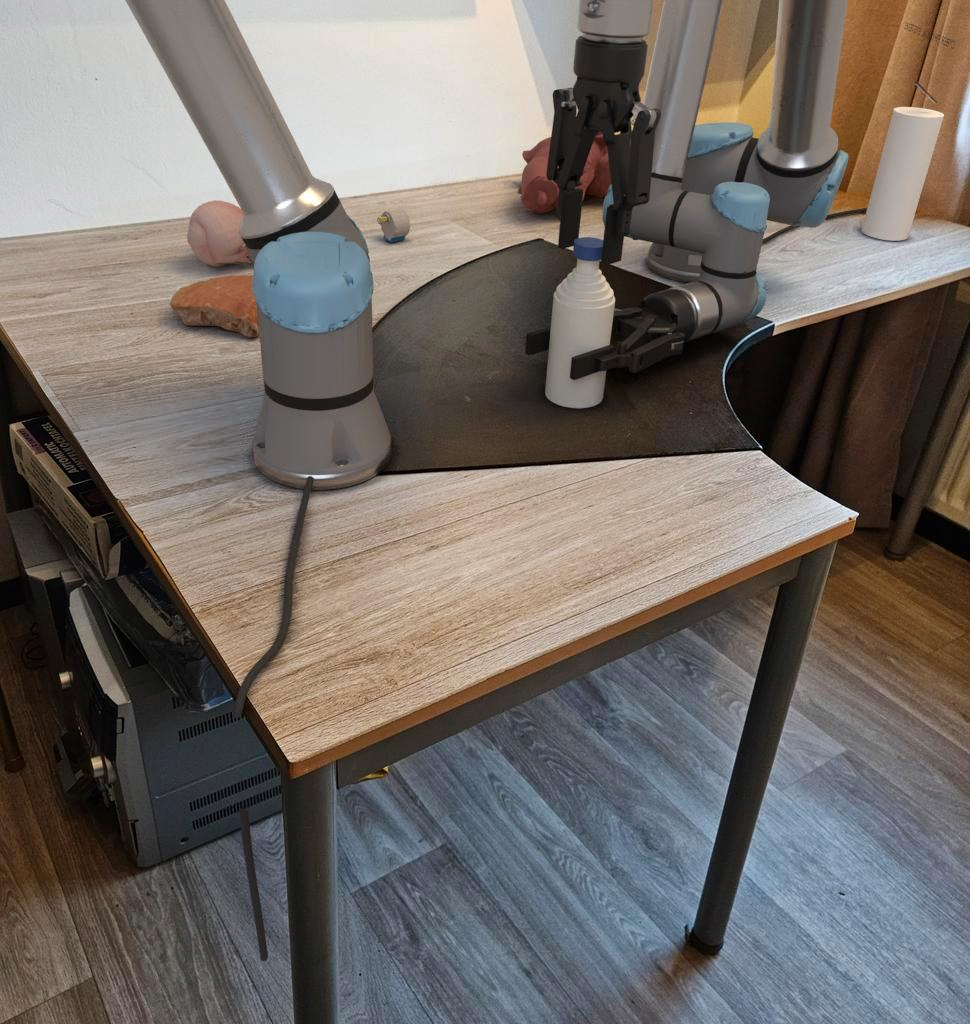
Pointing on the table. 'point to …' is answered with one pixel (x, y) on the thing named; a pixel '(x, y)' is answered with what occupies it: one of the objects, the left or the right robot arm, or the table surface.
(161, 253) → the table surface
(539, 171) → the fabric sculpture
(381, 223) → the electric motor
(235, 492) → the table surface
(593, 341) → the bottle
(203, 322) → the ceramic shard
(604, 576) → the table surface
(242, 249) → the toy
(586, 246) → the cap
